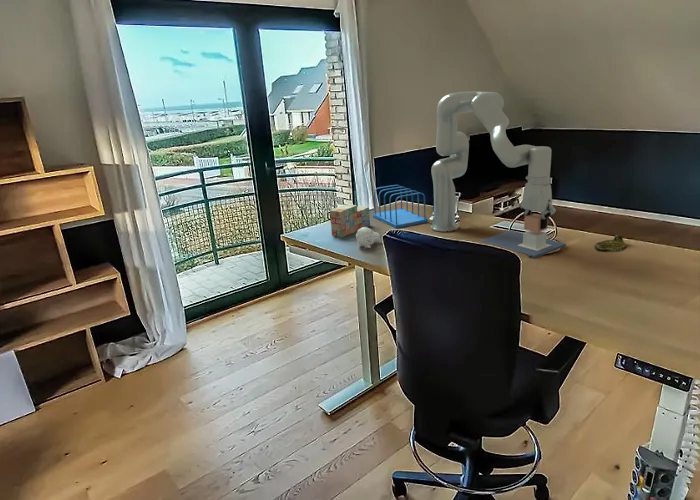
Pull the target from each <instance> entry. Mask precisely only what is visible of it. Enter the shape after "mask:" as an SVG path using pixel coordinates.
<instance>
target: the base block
mask: <svg viewBox="0 0 700 500" xmlns="http://www.w3.org/2000/svg"><path fill="white" fill-rule="evenodd" d="M522 233H523V245H524V246H528V247H531V248H535V249H536V248H539V247H542V246H545V245H546V239H547V234H548V233H547V232H545V231H540V232H534V231H530V230H527V231H525V232H522Z"/></svg>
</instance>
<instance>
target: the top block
mask: <svg viewBox="0 0 700 500" xmlns="http://www.w3.org/2000/svg"><path fill="white" fill-rule="evenodd" d="M531 214H532V215H528V216H525V215H524V220H523V221H524V222H523V224H524V225H523V226H524V227H523V230H525V231H526V230H527V231H534V232H540V231H541V232H544V231H545V230H548V226H549V220H548V221H547V227H546V228H545V229H540V224H541V219H542V216H541V214H538V213H531Z"/></svg>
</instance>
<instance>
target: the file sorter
mask: <svg viewBox="0 0 700 500" xmlns="http://www.w3.org/2000/svg"><path fill="white" fill-rule="evenodd" d="M390 187H391V188H390ZM377 190H380V191H379V193H378V209H379V211H378V212H377V209H376V207H377V206H376V191H377ZM384 191H387V192H385V193H384V195H383V207H384V209H383V210H384V211H382V210H381V193H382V192H384ZM413 192H414V193H413ZM390 193H393V194H391V195H390V196H389V210H386V209H387V208H386V196H387V194H390ZM408 193H409V194H408ZM403 194H404V195H403ZM396 195H399V196H397V197H396V198H395V201H394V205H395V206H394V208H395V209H393V210H392V204H391V203H392V201H391V200H392V197H393V196H396ZM415 195H417V196H416V197H417V213H414V196H415ZM420 195H423V215H424V216H421V215H420ZM410 196H411V211H410V210H409V209H408V205H409V204H408V202H409V201H408V197H410ZM404 197H405V198H406V199H405V200H406V202H405V203H406V209H405V208H403V198H404ZM398 199H400V208H398V205H397V201H398ZM373 205H374V210H373V211H374V213H373V214H372V215H373V216H372V217H373V218H375V219H377V220H378V221H381V222H383V223H385V224H387V225H389V226H391V227H393V228H394V229H400V228H406V227H411V226H415V225H419V224H425V223H428V222H429V221H428V218H427V217H426V195H425V194H424V193H423V192H419V191H417V190H412V189H411V188H407V187H405V186H401V185H399V184H393V185H386V186H385V185H384V186H380V187H376V188H375V189H374V191H373ZM397 208H398V209H397Z"/></svg>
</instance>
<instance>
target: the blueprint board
mask: <svg viewBox="0 0 700 500" xmlns="http://www.w3.org/2000/svg"><path fill="white" fill-rule="evenodd" d="M509 231H510V232H509ZM523 233H524V232H520V231H516V230H512V229H510V230H507V231H503V232H502V233H498V234H495V235H492V236H489V237H485V238H482V239H479V240H478V241H479V242H483V243H486V244H490V245H493V246H496V247H501V248H504V249H507V250H511V251H514V252H518V253H522V254H525V255H529V256H528V258H531V259H536V258H538V257H541V256H544V255H547V254H549V253H552V252H554V251H558V250H560V249H562V248H564V247H566V246H567V243H565V242H562V241H557V240H553V239H548V238H546V245H545V246H542V247H539V248H536V249H535V248H531V247H528V246H524V245H523Z"/></svg>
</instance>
